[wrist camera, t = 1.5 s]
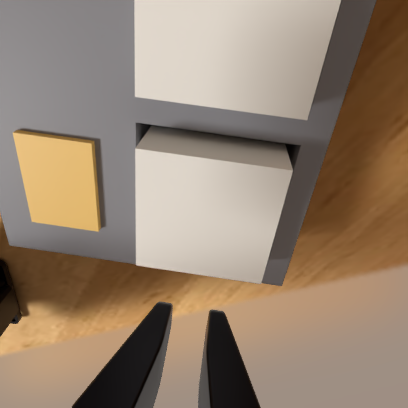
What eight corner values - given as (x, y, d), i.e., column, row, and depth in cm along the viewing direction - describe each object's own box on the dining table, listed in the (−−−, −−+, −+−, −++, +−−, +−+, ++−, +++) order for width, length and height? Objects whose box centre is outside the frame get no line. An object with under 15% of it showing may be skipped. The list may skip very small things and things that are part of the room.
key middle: (152, 80, 13) (135, 96, 11) (156, -116, 10) (133, -147, 8) (296, 100, 13) (307, 120, 10) (345, -93, 10) (374, -119, 8)
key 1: (149, 231, 17) (135, 265, 15) (151, 125, 14) (135, 148, 12) (258, 247, 17) (261, 284, 14) (285, 144, 14) (293, 170, 11)
